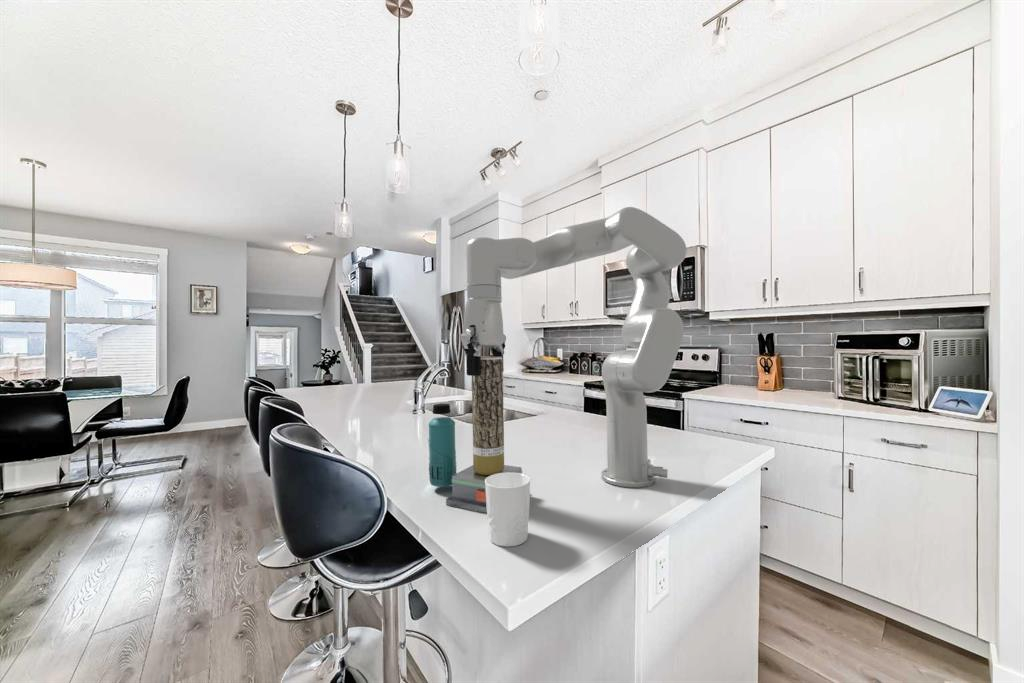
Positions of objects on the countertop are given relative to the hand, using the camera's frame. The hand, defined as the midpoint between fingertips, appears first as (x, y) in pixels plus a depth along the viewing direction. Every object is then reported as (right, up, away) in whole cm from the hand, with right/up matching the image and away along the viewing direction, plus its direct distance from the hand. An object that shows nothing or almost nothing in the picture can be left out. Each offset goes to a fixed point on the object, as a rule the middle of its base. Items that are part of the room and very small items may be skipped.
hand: (485, 373), depth 85 cm
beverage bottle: (-11, -28, +6) cm, 30 cm away
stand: (+1, -27, 0) cm, 27 cm away
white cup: (+5, -27, -18) cm, 33 cm away
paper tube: (+1, -22, 0) cm, 22 cm away
